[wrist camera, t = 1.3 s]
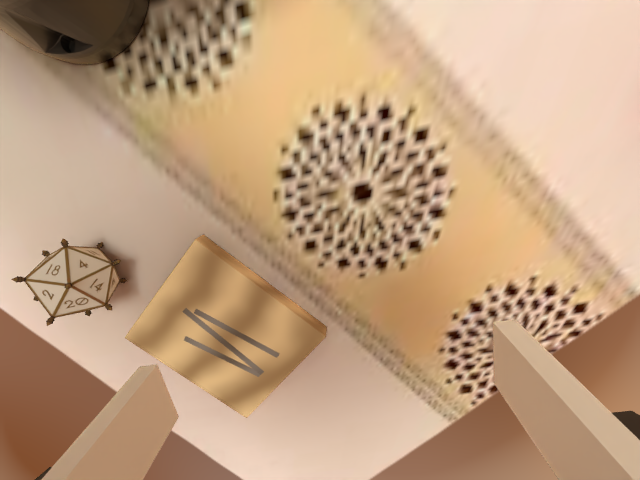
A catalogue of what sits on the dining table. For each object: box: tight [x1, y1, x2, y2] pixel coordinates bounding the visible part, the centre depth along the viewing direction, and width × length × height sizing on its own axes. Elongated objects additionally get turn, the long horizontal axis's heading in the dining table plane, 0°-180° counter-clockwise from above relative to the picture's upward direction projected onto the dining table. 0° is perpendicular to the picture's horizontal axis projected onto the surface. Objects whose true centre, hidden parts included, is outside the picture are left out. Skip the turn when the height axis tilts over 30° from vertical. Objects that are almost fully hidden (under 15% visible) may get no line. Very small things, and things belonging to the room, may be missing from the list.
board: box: [125, 235, 327, 418], centre depth 36 cm, size 18×16×2 cm
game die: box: [11, 239, 127, 326], centre depth 32 cm, size 9×8×10 cm
